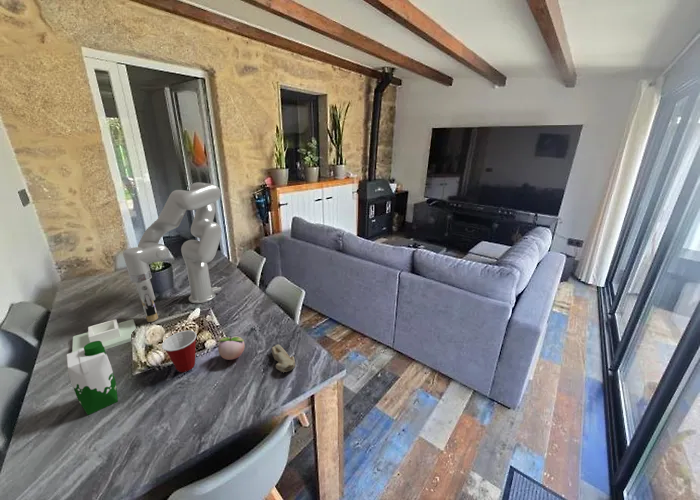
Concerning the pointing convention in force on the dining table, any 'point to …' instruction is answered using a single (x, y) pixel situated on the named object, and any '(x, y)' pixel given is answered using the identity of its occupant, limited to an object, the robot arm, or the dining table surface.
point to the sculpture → (282, 359)
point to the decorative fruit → (231, 347)
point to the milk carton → (92, 377)
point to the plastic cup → (181, 349)
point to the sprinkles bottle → (152, 317)
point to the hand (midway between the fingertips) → (150, 312)
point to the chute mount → (105, 334)
